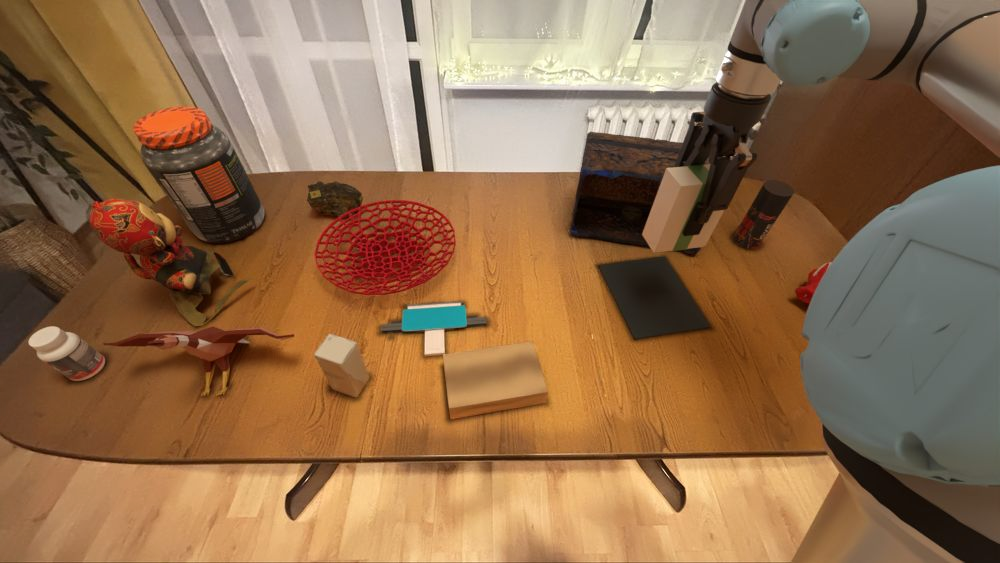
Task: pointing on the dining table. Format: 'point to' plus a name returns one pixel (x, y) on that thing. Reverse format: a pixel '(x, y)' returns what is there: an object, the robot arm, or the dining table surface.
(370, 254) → the bowl
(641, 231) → the decorative box
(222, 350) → the decorative bird
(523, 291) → the dining table surface
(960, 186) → the robot arm
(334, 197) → the rock
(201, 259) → the red patterned figure
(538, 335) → the dining table surface
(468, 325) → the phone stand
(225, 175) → the supplement tub
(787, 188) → the deodorant
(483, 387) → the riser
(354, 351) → the box
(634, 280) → the mat
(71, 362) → the pill bottle
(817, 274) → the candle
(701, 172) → the packet
